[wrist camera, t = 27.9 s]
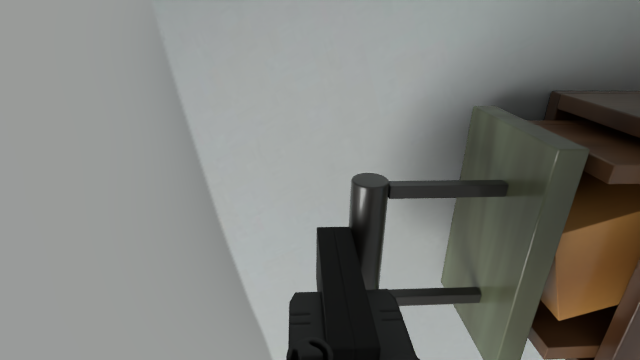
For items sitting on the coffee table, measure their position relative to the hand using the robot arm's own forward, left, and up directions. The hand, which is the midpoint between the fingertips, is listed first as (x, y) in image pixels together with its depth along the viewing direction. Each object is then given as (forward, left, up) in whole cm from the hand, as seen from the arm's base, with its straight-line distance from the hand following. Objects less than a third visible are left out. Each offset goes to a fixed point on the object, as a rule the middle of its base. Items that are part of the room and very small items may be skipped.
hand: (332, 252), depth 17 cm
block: (+11, +5, -3) cm, 13 cm away
